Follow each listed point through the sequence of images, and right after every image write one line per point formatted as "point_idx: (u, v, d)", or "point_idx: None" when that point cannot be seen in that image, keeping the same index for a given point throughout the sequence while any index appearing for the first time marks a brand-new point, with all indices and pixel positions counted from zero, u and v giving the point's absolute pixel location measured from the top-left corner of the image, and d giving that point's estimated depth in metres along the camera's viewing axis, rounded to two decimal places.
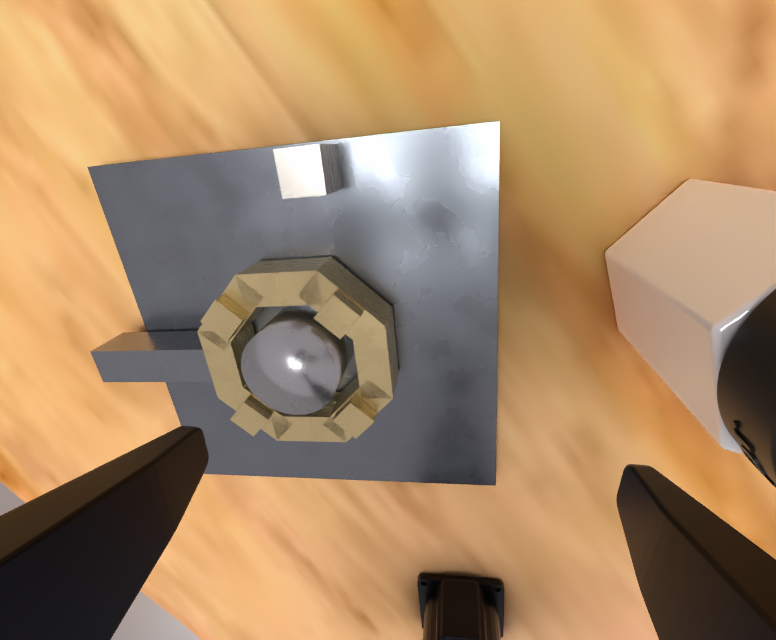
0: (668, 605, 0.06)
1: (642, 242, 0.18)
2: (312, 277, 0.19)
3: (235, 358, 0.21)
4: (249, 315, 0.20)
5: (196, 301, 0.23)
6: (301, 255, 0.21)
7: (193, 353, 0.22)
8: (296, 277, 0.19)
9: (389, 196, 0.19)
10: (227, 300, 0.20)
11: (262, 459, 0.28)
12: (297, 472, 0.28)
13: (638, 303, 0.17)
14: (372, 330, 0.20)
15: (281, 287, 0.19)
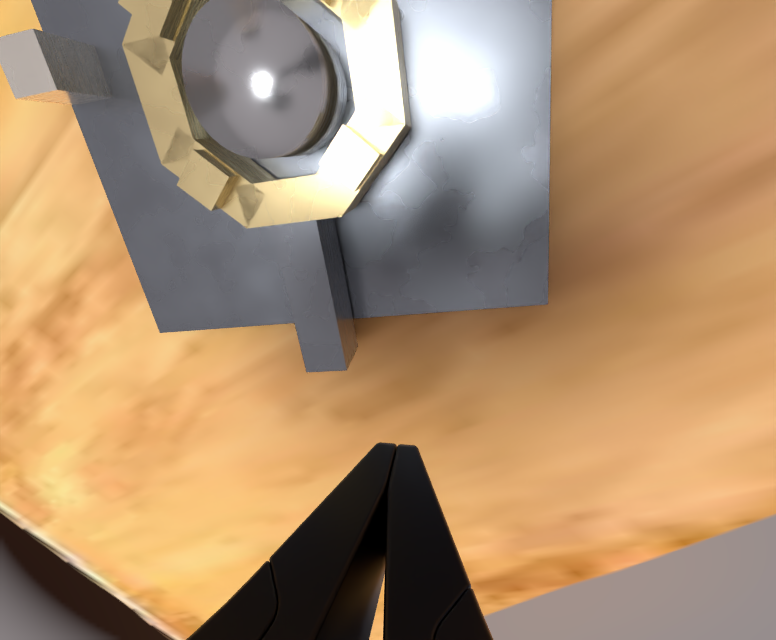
0: None
1: None
2: (132, 51, 0.15)
3: (274, 180, 0.16)
4: (206, 150, 0.16)
5: (267, 251, 0.20)
6: None
7: (280, 239, 0.17)
8: (139, 76, 0.15)
9: None
10: None
11: (512, 191, 0.17)
12: (538, 127, 0.16)
13: None
14: None
15: (158, 99, 0.15)
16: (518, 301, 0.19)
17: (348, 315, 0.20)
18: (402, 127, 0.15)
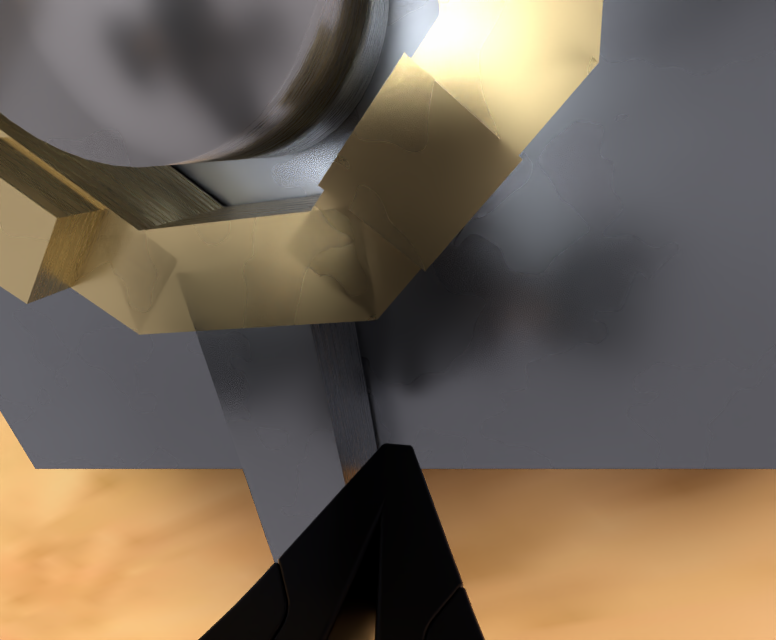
0: None
1: None
2: None
3: (198, 222, 0.06)
4: (11, 139, 0.06)
5: None
6: None
7: (220, 364, 0.07)
8: None
9: None
10: None
11: (774, 242, 0.07)
12: None
13: None
14: None
15: None
16: (732, 460, 0.09)
17: None
18: (585, 74, 0.05)
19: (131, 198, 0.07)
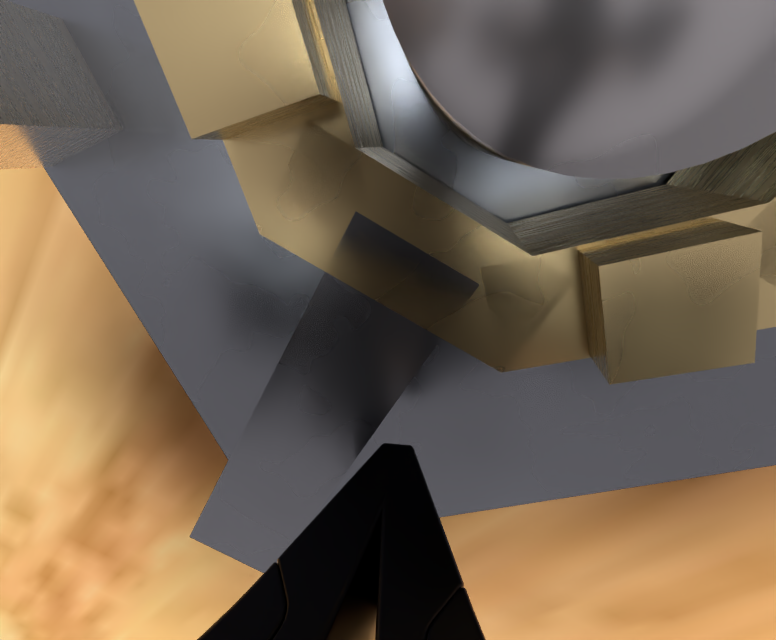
0: None
1: None
2: None
3: (420, 186, 0.05)
4: None
5: (493, 378, 0.09)
6: None
7: (322, 314, 0.06)
8: None
9: None
10: None
11: None
12: None
13: None
14: None
15: None
16: None
17: None
18: None
19: (350, 99, 0.06)
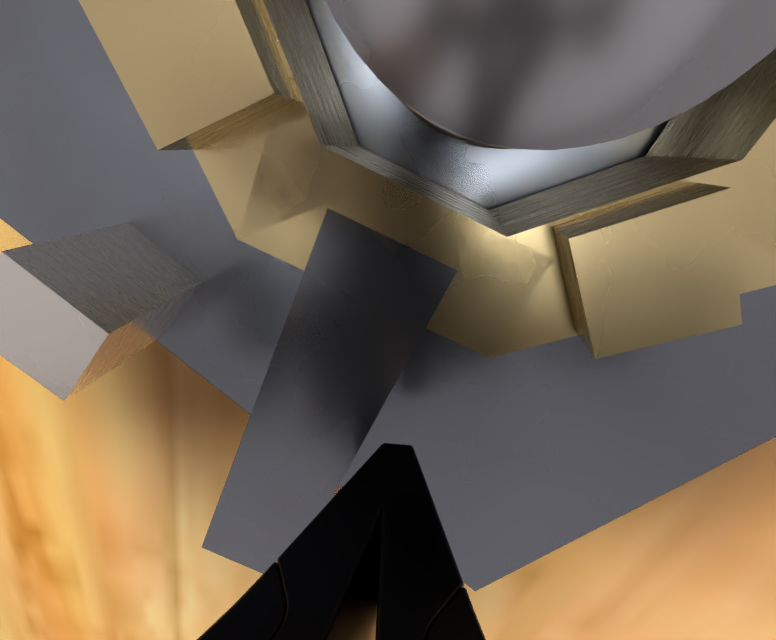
0: None
1: None
2: None
3: (388, 177, 0.05)
4: None
5: None
6: None
7: (306, 313, 0.06)
8: None
9: (49, 125, 0.08)
10: None
11: None
12: None
13: None
14: None
15: None
16: None
17: None
18: None
19: (314, 99, 0.06)
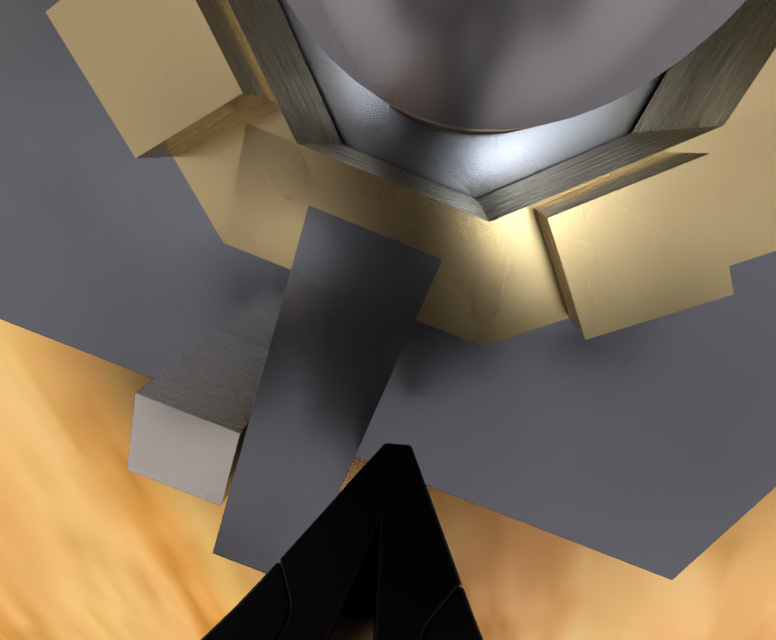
0: None
1: None
2: None
3: (366, 170, 0.05)
4: None
5: (740, 273, 0.08)
6: None
7: (296, 312, 0.06)
8: None
9: (132, 273, 0.09)
10: None
11: None
12: None
13: None
14: None
15: None
16: None
17: None
18: None
19: (289, 98, 0.06)
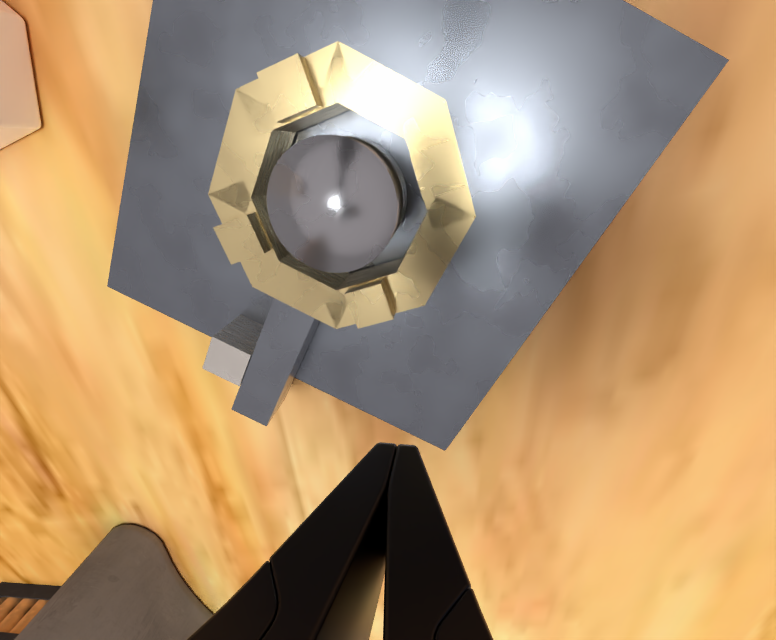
0: None
1: None
2: (241, 101, 0.15)
3: (299, 271, 0.17)
4: (257, 213, 0.16)
5: (450, 311, 0.20)
6: None
7: (274, 312, 0.18)
8: (235, 121, 0.15)
9: (204, 286, 0.21)
10: (228, 222, 0.17)
11: (573, 34, 0.15)
12: None
13: None
14: (336, 65, 0.14)
15: (239, 150, 0.16)
16: (695, 95, 0.15)
17: (292, 378, 0.22)
18: (421, 305, 0.17)
19: (278, 243, 0.17)
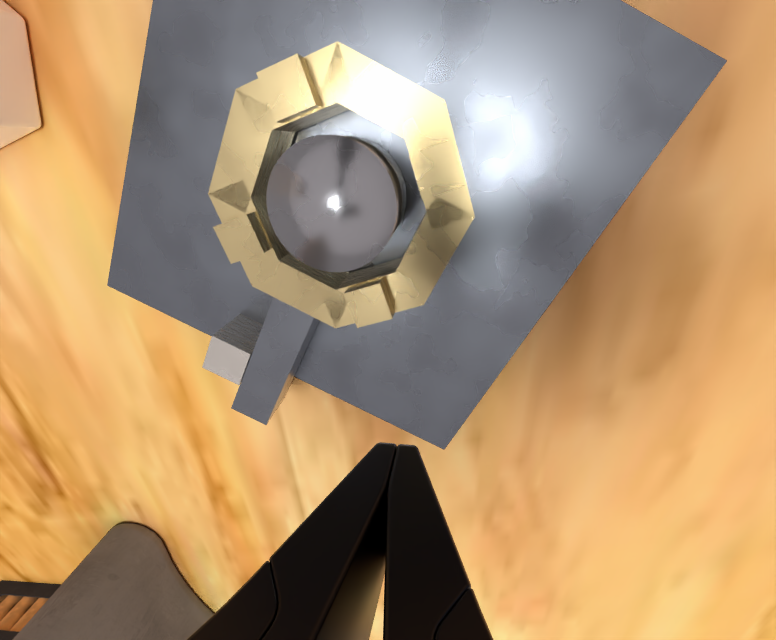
0: None
1: None
2: (241, 100, 0.15)
3: (299, 270, 0.17)
4: (256, 213, 0.16)
5: (449, 310, 0.20)
6: None
7: (274, 311, 0.18)
8: (234, 121, 0.15)
9: (204, 285, 0.21)
10: None
11: (571, 35, 0.15)
12: None
13: None
14: (336, 64, 0.14)
15: (239, 149, 0.16)
16: (693, 95, 0.15)
17: (292, 377, 0.22)
18: (420, 304, 0.17)
19: (277, 243, 0.18)
